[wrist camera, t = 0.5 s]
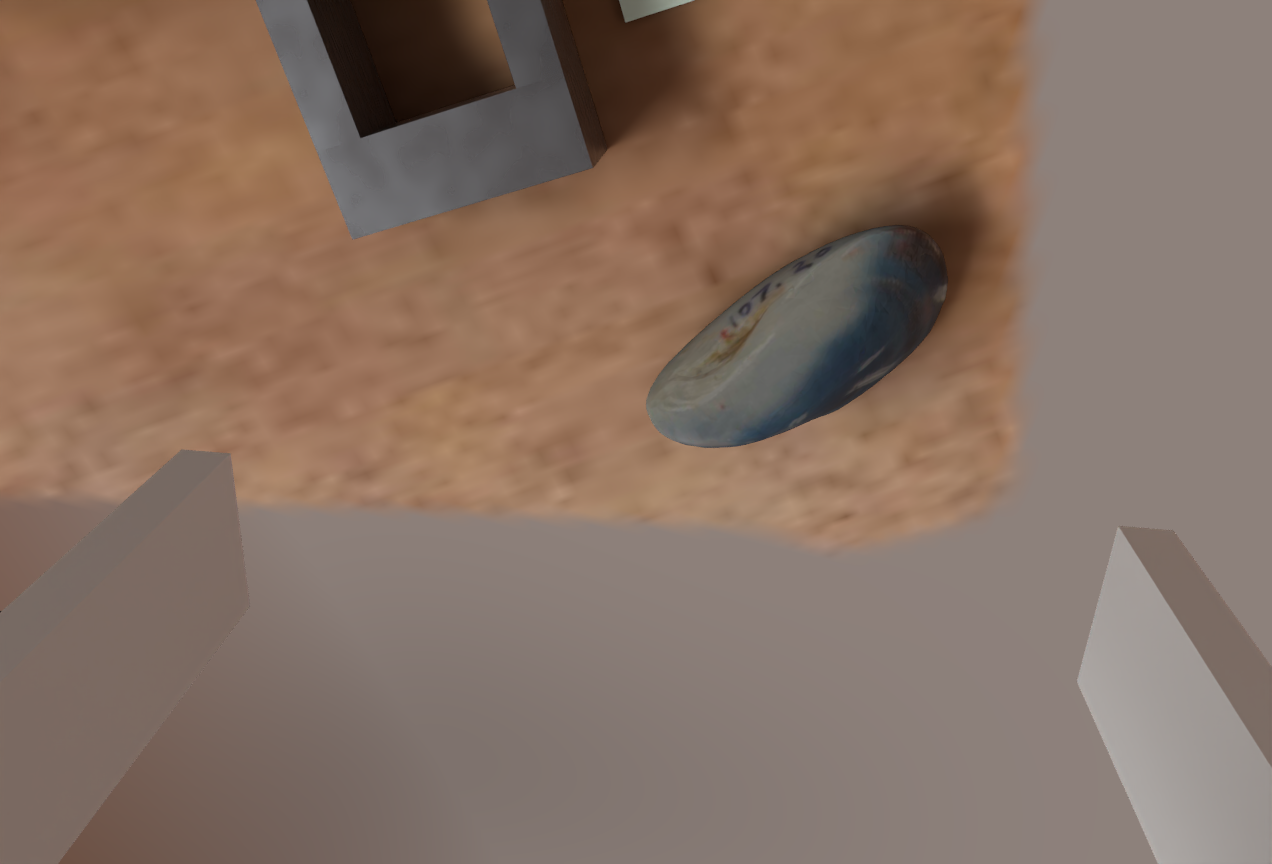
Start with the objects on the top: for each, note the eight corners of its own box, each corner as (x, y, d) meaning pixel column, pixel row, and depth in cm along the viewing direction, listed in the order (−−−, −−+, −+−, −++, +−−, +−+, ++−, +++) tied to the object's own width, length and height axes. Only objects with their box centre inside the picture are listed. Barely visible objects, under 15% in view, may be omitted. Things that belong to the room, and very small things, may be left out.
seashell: (1002, 247, 37) (762, 247, 32) (915, 464, 42) (694, 491, 37) (893, 179, 42) (668, 170, 37) (825, 382, 46) (619, 396, 42)
